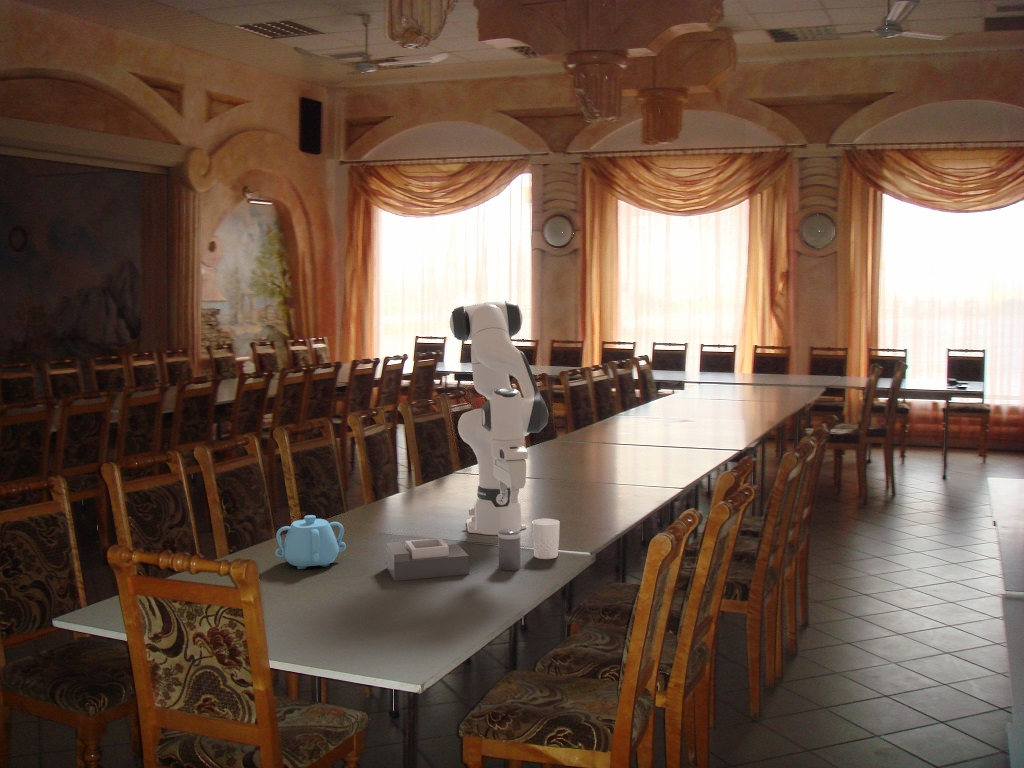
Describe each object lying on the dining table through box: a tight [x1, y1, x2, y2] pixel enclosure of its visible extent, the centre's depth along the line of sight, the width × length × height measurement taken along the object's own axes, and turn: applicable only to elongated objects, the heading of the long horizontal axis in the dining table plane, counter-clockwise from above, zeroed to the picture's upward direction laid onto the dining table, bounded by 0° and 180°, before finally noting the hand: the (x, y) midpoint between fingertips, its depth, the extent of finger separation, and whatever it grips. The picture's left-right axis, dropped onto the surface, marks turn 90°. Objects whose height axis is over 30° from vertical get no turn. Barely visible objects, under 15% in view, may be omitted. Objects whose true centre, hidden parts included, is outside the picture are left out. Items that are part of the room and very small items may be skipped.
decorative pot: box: [274, 514, 347, 570], centre depth 283 cm, size 16×16×14 cm
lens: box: [497, 529, 522, 572], centre depth 277 cm, size 6×6×10 cm
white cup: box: [531, 518, 561, 560], centre depth 288 cm, size 8×8×10 cm
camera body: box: [385, 537, 470, 582], centre depth 275 cm, size 13×20×8 cm, turn 106°
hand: (508, 499), depth 275 cm, fingers open, 8 cm apart
